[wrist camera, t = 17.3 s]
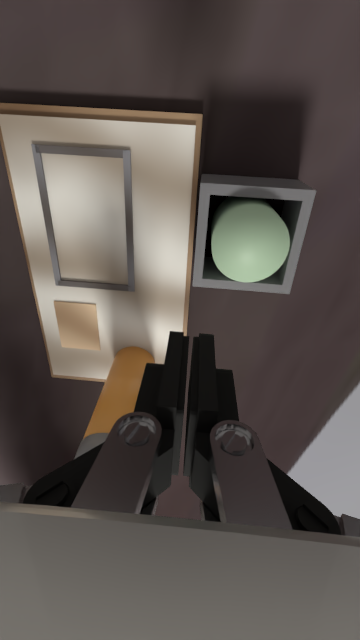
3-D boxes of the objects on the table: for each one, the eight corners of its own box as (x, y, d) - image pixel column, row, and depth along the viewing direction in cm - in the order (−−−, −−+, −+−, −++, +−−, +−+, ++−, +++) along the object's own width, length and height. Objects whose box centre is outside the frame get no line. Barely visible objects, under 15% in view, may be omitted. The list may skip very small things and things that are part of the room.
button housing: (277, 269, 20) (289, 293, 17) (194, 263, 21) (192, 286, 18) (298, 179, 18) (316, 190, 15) (201, 173, 18) (200, 182, 15)
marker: (155, 381, 25) (130, 508, 17) (114, 377, 25) (69, 501, 17) (156, 348, 24) (130, 470, 15) (112, 343, 24) (62, 463, 15)
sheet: (182, 384, 26) (182, 392, 26) (54, 373, 27) (49, 380, 26) (202, 114, 16) (202, 114, 16) (-3, 102, 17) (-13, 101, 16)
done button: (268, 258, 20) (280, 285, 16) (208, 253, 20) (207, 279, 17) (281, 194, 18) (298, 210, 14) (214, 190, 18) (215, 204, 15)
